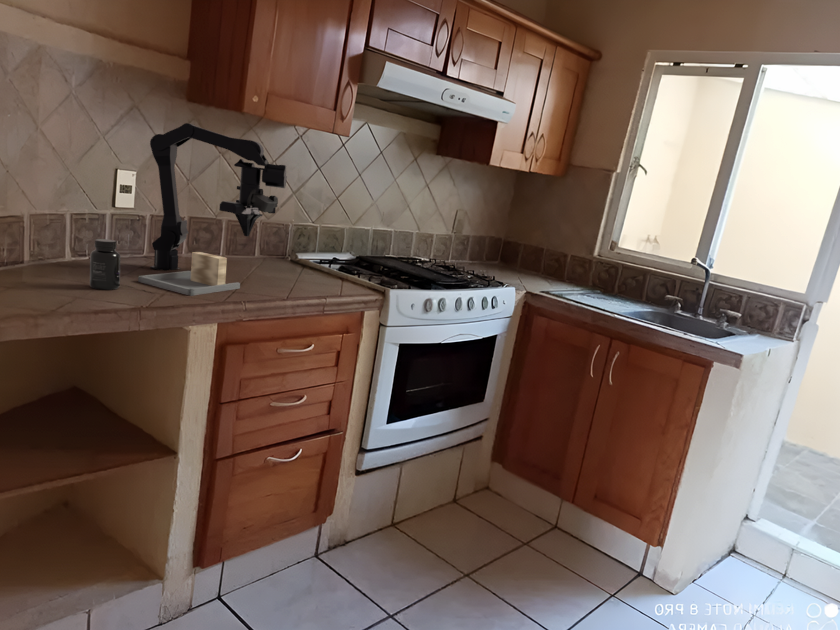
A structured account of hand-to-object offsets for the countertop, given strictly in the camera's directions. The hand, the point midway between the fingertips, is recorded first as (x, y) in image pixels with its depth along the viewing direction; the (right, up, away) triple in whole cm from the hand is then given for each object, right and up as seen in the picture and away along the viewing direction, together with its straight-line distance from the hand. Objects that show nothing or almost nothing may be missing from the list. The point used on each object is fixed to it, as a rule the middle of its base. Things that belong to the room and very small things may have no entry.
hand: (246, 236), depth 188 cm
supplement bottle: (-27, -17, -31) cm, 45 cm away
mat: (-10, -16, -18) cm, 26 cm away
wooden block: (-7, -15, -13) cm, 21 cm away
